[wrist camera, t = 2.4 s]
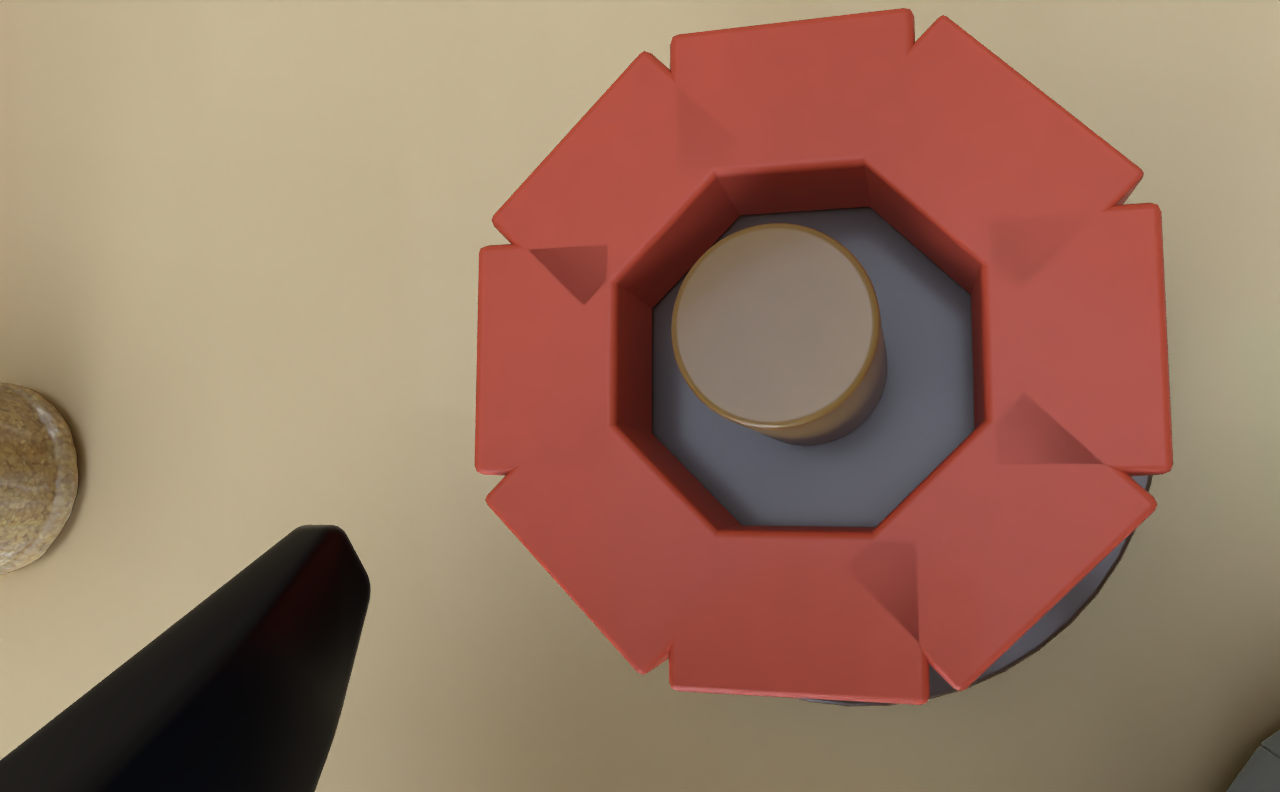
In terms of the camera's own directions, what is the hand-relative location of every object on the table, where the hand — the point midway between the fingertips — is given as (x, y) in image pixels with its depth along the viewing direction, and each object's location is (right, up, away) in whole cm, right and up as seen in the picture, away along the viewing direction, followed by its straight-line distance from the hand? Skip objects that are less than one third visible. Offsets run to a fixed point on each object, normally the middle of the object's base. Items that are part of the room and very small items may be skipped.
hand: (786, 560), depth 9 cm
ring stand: (+3, +1, +10) cm, 10 cm away
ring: (+1, +2, +2) cm, 3 cm away
